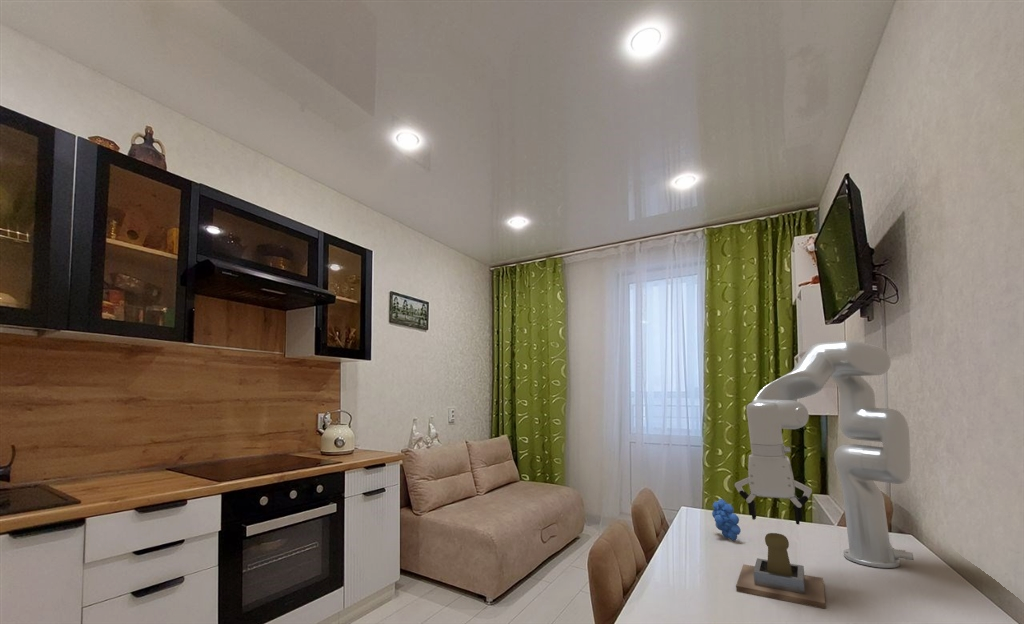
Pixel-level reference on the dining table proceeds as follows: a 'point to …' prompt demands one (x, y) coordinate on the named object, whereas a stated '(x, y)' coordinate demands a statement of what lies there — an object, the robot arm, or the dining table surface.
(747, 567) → the collar board
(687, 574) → the dining table surface
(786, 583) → the collar
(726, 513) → the grapes
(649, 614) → the dining table surface
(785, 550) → the cork
